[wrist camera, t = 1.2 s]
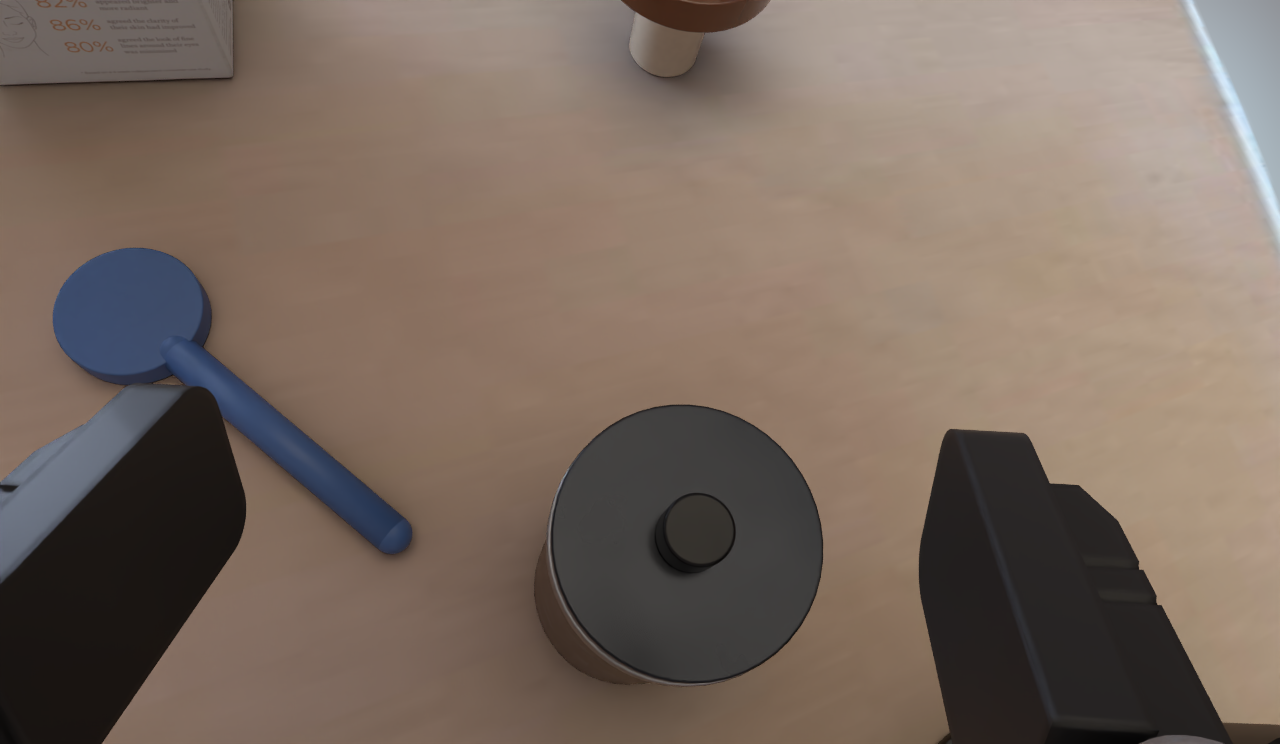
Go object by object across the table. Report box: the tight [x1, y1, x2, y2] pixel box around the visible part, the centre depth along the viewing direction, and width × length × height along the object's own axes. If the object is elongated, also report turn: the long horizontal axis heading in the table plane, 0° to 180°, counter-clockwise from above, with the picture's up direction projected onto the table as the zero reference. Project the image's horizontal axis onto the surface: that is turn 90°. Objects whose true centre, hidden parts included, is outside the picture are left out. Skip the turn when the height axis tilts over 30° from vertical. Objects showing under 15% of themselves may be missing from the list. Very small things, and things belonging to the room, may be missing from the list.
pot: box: [534, 405, 823, 687], centre depth 24 cm, size 6×6×11 cm
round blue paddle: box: [53, 248, 412, 554], centre depth 29 cm, size 14×4×1 cm, turn 52°
